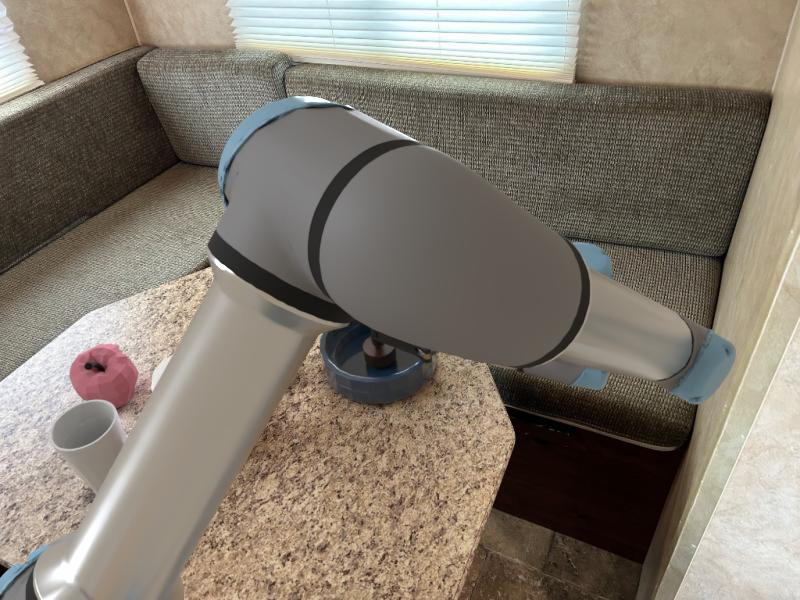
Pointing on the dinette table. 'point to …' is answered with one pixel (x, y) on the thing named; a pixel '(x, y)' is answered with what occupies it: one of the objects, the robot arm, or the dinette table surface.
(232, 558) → the dinette table surface
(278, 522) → the dinette table surface
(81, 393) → the apple
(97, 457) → the cup
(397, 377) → the bowl
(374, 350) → the wooden stamp handle
